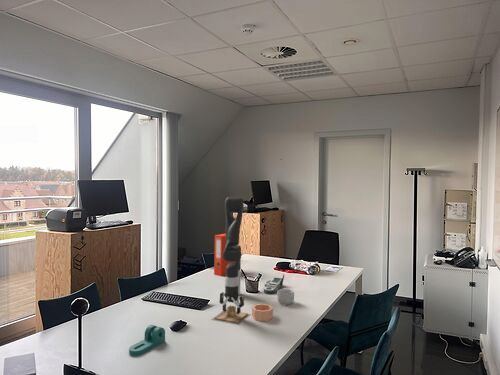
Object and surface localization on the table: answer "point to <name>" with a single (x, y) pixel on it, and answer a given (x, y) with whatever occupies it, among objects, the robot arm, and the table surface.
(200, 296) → the table surface
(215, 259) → the file binder
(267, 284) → the communication device
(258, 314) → the bowl
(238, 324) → the mat
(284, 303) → the teacup
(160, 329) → the bracket
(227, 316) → the lid
